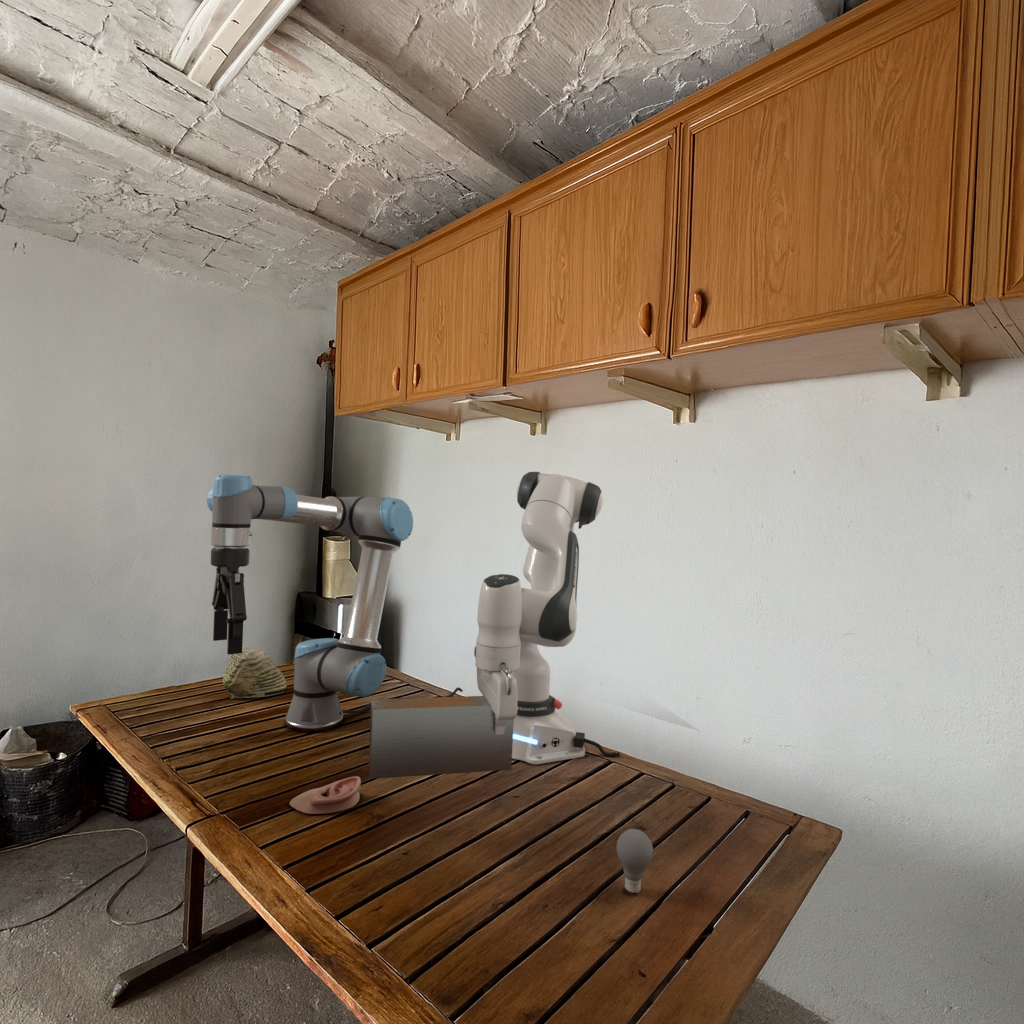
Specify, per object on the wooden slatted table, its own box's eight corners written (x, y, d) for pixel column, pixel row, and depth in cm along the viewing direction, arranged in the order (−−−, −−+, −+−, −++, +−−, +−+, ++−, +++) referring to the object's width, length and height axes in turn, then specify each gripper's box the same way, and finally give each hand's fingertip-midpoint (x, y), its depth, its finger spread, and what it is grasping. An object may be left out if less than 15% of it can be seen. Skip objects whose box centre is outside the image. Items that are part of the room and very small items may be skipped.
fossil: (218, 695, 195) (220, 647, 195) (278, 685, 208) (279, 640, 207) (228, 703, 189) (230, 653, 188) (289, 692, 201) (290, 645, 201)
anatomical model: (281, 790, 127) (311, 767, 138) (281, 810, 127) (310, 785, 138) (342, 799, 124) (367, 775, 136) (342, 819, 124) (367, 793, 136)
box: (369, 779, 117) (372, 709, 117) (368, 765, 123) (371, 699, 123) (511, 769, 124) (514, 704, 124) (504, 757, 130) (507, 694, 129)
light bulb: (610, 879, 108) (613, 822, 108) (644, 879, 109) (647, 822, 109) (619, 902, 102) (622, 840, 102) (655, 901, 103) (658, 840, 103)
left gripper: (265, 552, 127) (261, 657, 127) (235, 542, 147) (232, 633, 147) (224, 552, 122) (221, 662, 123) (199, 542, 143) (196, 636, 143)
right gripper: (527, 671, 116) (523, 745, 117) (501, 645, 136) (498, 709, 136) (493, 672, 115) (490, 747, 115) (472, 645, 135) (469, 710, 135)
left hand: (227, 646), depth 135 cm, fingers open, 13 cm apart
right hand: (494, 726), depth 126 cm, fingers closed on box, 6 cm apart
